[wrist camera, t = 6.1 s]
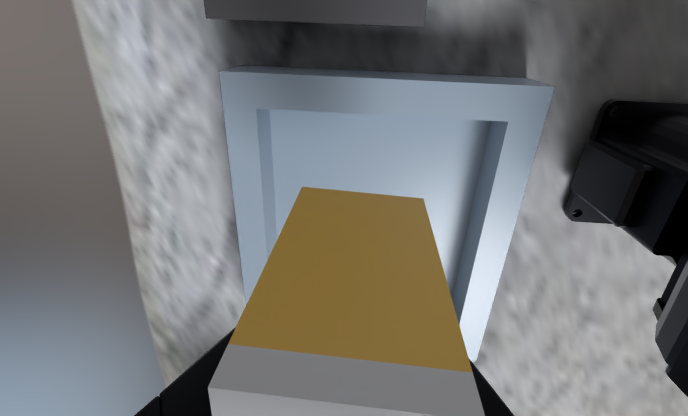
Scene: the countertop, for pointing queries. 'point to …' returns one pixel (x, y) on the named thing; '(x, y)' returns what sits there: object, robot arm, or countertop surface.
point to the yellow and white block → (349, 318)
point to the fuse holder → (322, 11)
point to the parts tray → (388, 160)
